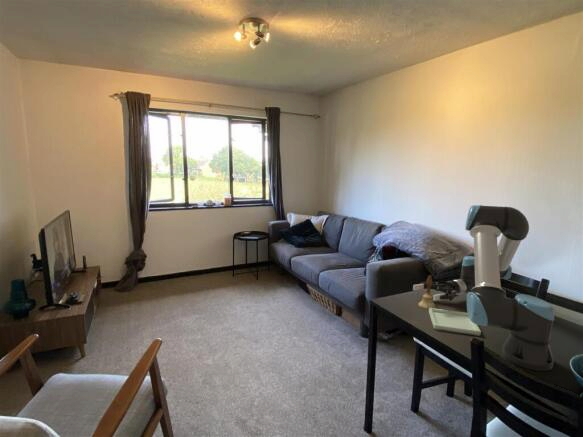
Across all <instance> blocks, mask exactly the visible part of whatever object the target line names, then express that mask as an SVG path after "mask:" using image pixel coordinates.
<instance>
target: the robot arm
mask: <svg viewBox="0 0 583 437" xmlns="http://www.w3.org/2000/svg"><path fill="white" fill-rule="evenodd" d="M465 221H466V222H465V228H464V230H465V231H467V232H469V235H470V236H471V238H473V253H474V256H472V255H465V256H463V258H462V264H461V272H460V273H461V274H460V278H458V279H452V280H447V281H445V282H444V283H440V282H439V281H435V282H434V281H432V285H431V288H430V290H434V291H436V292H441V293H437V294H433V295H432V297H433V302H436V301H440V300H448V301H451V302H452V301H453V300H454V299H455V298H456V297H458V296H459V295H462V294H463V295H464V294H467V295H466V311H467V312H466V313H468V316H469V318H470V320H471V321H472V322H473V323H474V324H477V326H482V327H489V328H490V327H491V328H496V329H501V330H508V331H510V334H509V335H508V336H507V339H506V340H505V342H504V343H503V345H502V350H501V352H502V355H503V357H504V358H506V359H507V360H508V361H510V362H511V363H513V364H515V365H517V366H519V367H522V368H525V369H527V370H530V371H532V370H533V371H537V372H548V371H551V370H552V369H553V366H554V357H553V353H552V349H551V345H550V344H551V338H552V332H553V327H554V321H555V307H553V305H552V304H550V303H549V302H547V301H546V300H544V299H541V298H538V297H535V296H533V295H530V294H525V293H524V294H523V293H520V294H519V293H518V294H516V295H515V297H513V298H511V297H508V296H507V292H506V290H505V289H503V288H502V287H501V286H502V284H501V279H502V280H503V279H505V280H508V279H511V277H512V274H513V268H512V266H511V263H512V260H513V259H514V257H515V255H516V252H517V251H518V249H519V246H520V244H521V242H522V241H524V240H525V239H526V238H527V237H528V234H529V233H530V232H529V230H530V225H529V221H528V219H527V217H526V215H525V214H524V213H522V211H520V210H519V209H517V208H515V207H511V206H496V205H493V206H492V205H482V204H480V205H478V204H476V205H471V206H470V207H469V209H468V213H467V217H466V220H465ZM501 234H502V235H501ZM500 236H501V238H500V240H499V242H498V238H499V237H500ZM424 289H426V290H427V281H420V283H419V284H413V286H412V291H419V290H420V291H421V290H424Z"/></svg>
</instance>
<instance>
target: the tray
mask: <svg viewBox="0 0 583 437" xmlns="http://www.w3.org/2000/svg"><path fill="white" fill-rule="evenodd" d="M428 314H429V316H430V320H431V323H432V326H433V329H434V330H437V331H443V332H449V333H456V334H457V333H458V334H465V335H472V336H479V337H481V334H482V330H481V329H480V327H479V325H478V324H474V323H473V322H472V321H471V320H470V318H469V316H468V312H465V311H458V310H457V311H456V310H449V309H441V308H429V309H428Z"/></svg>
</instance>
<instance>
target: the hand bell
mask: <svg viewBox="0 0 583 437" xmlns="http://www.w3.org/2000/svg"><path fill="white" fill-rule="evenodd" d="M427 277H428V278H426V282H427V289H426V293H425V294H423V295H422V298H421V301H420V302H418V306H419V307H420V308H422V309H426V310H429V308H435V309H437V306H436V304H435V303H434V300H433V295H431V289H430V288H431V285H432V282H433V276H432V275H428V276H427Z"/></svg>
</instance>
